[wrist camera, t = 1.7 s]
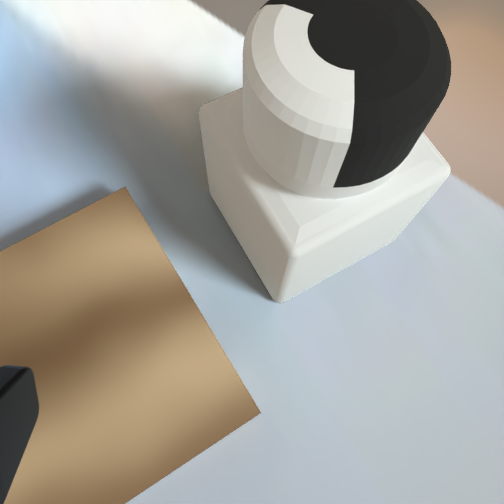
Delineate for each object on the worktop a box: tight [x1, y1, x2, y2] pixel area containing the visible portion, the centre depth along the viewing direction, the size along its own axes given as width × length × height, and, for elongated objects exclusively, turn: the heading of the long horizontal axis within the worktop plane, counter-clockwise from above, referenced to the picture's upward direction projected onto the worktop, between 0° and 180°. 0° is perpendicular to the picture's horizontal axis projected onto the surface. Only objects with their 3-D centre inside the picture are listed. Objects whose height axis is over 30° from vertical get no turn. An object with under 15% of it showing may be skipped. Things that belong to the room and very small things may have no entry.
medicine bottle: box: [199, 0, 451, 303], centre depth 18 cm, size 7×7×12 cm
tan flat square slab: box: [0, 187, 261, 504], centre depth 20 cm, size 12×12×2 cm
